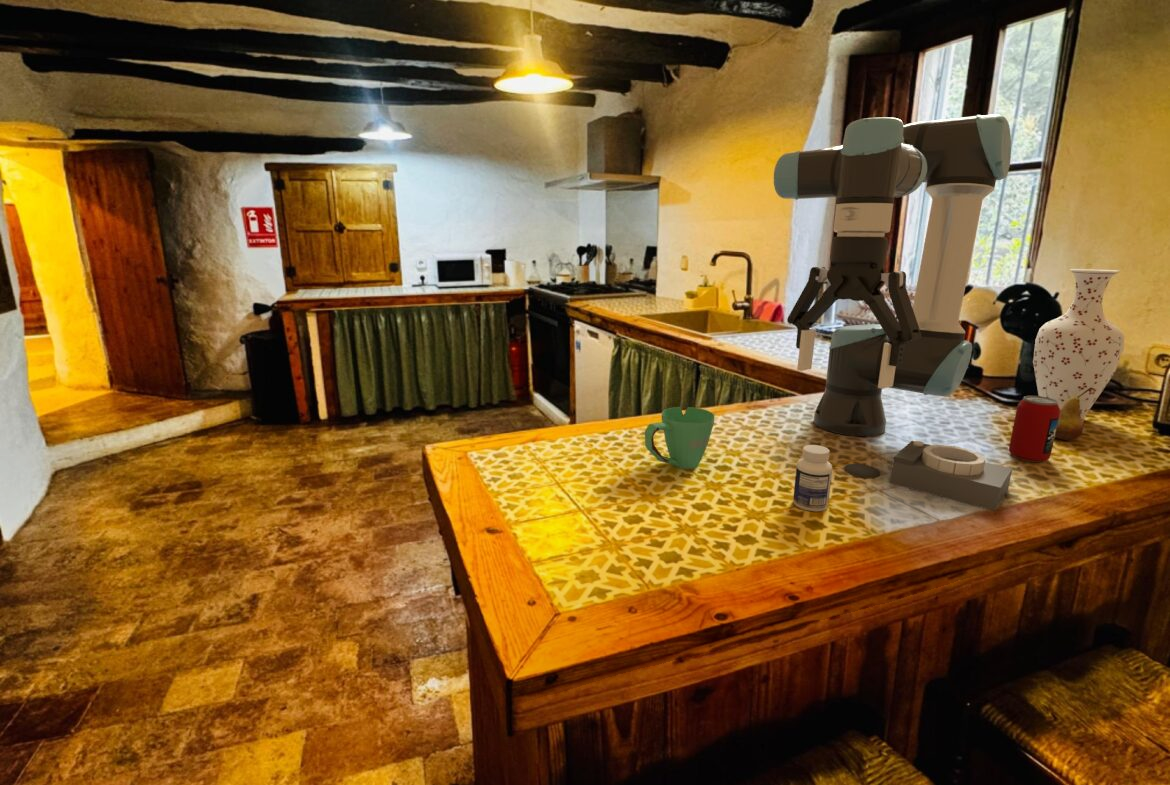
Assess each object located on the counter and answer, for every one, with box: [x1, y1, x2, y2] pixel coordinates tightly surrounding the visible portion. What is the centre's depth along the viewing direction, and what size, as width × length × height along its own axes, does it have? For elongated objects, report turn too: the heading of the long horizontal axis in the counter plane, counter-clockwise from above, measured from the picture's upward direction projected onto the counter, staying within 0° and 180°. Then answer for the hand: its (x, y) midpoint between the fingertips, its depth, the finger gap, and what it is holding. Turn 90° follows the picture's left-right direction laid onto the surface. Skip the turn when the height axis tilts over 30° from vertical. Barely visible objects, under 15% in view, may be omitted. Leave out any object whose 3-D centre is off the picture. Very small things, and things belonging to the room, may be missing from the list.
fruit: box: [1055, 387, 1093, 442], centre depth 128 cm, size 6×6×12 cm
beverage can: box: [1008, 395, 1060, 463], centre depth 118 cm, size 7×7×12 cm
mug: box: [644, 406, 715, 470], centre depth 112 cm, size 15×10×10 cm
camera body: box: [889, 440, 1013, 512], centre depth 105 cm, size 16×11×6 cm
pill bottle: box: [792, 444, 833, 512], centre depth 97 cm, size 5×5×10 cm
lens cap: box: [843, 463, 881, 479], centre depth 112 cm, size 6×6×1 cm
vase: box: [1032, 268, 1125, 422], centre depth 140 cm, size 16×16×35 cm
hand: (842, 377), depth 92 cm, fingers open, 13 cm apart
